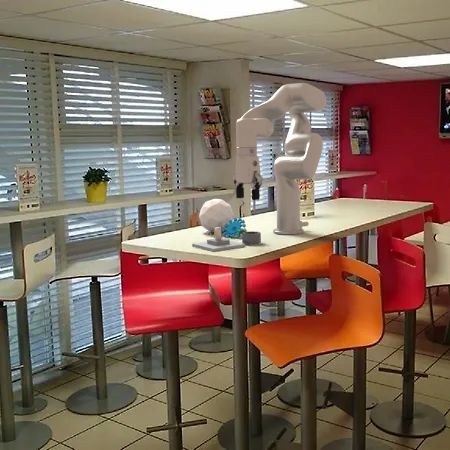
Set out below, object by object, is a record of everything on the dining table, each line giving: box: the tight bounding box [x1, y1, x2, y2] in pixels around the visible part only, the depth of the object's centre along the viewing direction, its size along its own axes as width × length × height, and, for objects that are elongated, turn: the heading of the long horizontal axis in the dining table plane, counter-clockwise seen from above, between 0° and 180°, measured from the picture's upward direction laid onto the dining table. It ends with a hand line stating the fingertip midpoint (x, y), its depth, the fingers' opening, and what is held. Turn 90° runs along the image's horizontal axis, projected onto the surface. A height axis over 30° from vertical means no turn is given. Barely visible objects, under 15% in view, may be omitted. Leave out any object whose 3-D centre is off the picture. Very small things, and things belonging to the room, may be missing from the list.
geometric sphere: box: [198, 198, 234, 233], centre depth 251 cm, size 14×15×15 cm
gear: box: [223, 217, 248, 239], centre depth 239 cm, size 11×6×10 cm
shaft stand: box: [191, 227, 246, 252], centre depth 217 cm, size 14×14×7 cm
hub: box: [241, 230, 262, 246], centre depth 222 cm, size 7×7×4 cm
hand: (247, 199), depth 220 cm, fingers open, 9 cm apart
